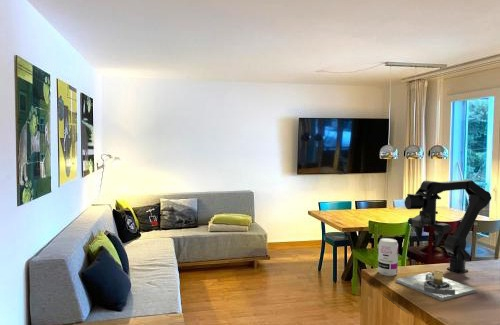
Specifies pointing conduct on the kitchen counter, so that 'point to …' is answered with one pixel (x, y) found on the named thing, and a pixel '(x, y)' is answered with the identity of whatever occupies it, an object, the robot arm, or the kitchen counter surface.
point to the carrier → (422, 285)
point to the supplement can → (388, 257)
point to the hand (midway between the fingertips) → (427, 243)
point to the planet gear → (438, 280)
